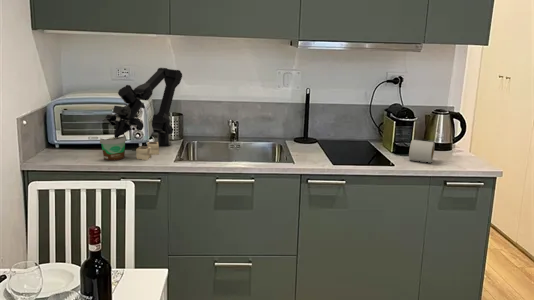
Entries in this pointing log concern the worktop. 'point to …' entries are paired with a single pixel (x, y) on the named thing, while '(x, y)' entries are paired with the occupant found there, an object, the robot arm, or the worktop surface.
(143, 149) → the number block
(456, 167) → the worktop surface
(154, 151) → the number block
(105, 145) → the food container
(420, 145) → the toilet paper
